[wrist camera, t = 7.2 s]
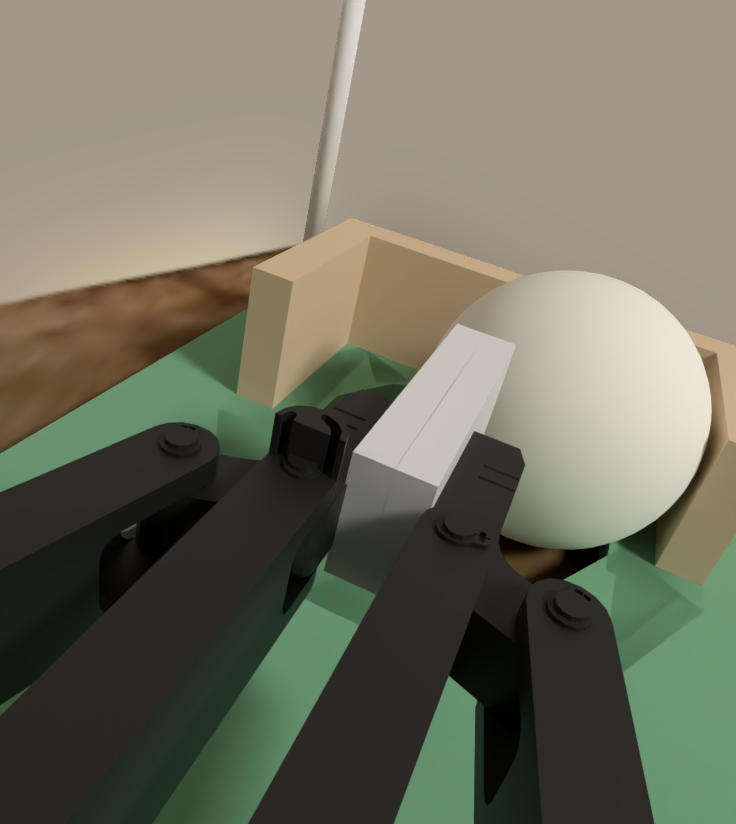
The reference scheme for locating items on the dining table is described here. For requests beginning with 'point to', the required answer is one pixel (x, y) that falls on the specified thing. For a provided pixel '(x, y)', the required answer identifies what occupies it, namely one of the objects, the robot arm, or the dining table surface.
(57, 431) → the green
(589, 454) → the ball
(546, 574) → the dining table surface
